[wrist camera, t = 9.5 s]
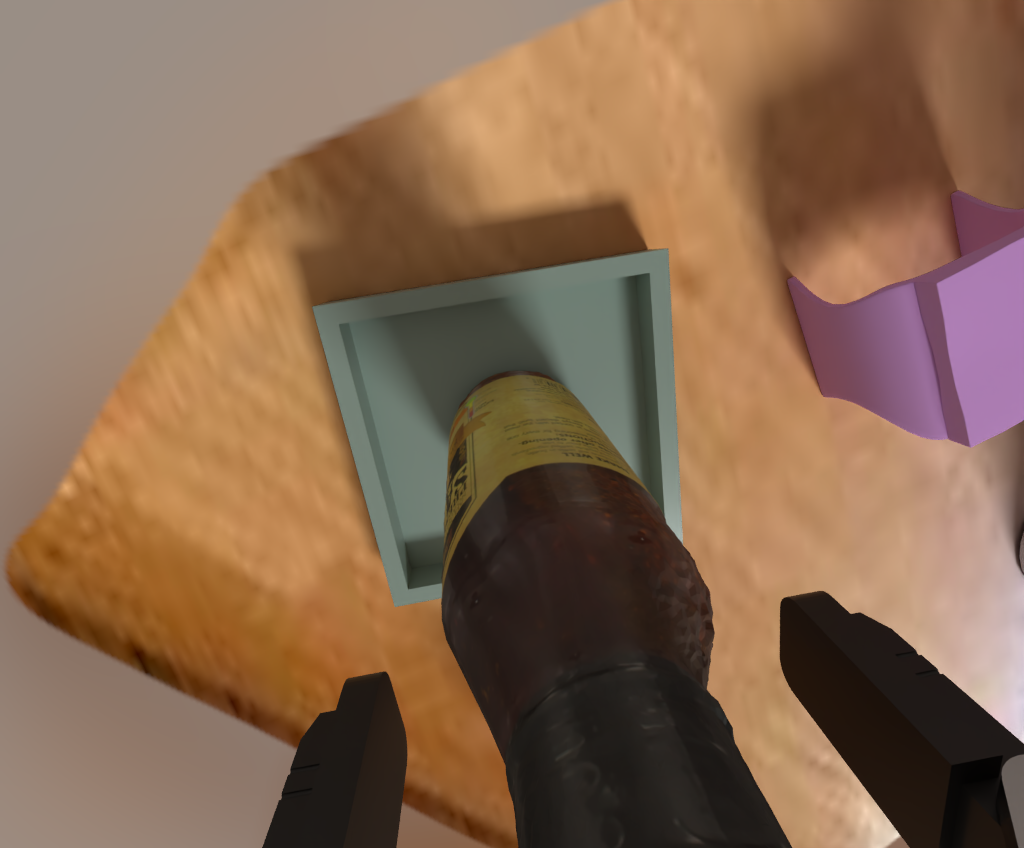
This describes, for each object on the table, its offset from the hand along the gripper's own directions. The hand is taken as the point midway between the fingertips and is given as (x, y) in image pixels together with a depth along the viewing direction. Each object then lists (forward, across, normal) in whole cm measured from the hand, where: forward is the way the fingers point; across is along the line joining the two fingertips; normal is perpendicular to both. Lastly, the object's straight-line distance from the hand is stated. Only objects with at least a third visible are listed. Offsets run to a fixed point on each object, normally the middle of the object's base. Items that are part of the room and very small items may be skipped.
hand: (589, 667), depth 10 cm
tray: (+15, 0, 0) cm, 15 cm away
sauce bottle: (+14, 0, 0) cm, 14 cm away
